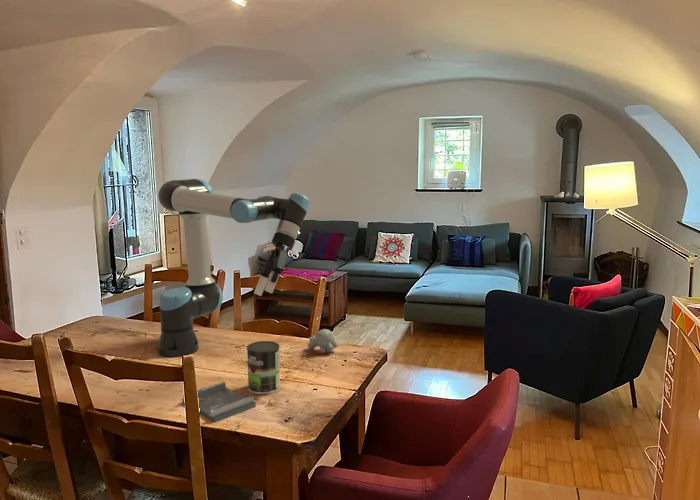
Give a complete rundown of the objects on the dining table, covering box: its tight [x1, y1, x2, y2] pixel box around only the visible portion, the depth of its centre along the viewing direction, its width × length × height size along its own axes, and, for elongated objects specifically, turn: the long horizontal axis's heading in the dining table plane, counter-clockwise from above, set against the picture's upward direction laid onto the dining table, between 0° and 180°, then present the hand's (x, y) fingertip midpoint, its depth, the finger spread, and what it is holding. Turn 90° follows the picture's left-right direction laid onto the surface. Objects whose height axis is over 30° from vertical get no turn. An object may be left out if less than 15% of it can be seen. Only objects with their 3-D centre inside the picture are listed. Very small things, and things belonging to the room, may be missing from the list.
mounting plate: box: [181, 381, 257, 423], centre depth 167 cm, size 18×14×3 cm
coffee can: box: [246, 340, 281, 395], centre depth 178 cm, size 10×10×14 cm
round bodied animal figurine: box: [306, 328, 339, 354], centre depth 212 cm, size 7×12×8 cm, turn 61°
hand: (262, 293), depth 184 cm, fingers open, 13 cm apart
